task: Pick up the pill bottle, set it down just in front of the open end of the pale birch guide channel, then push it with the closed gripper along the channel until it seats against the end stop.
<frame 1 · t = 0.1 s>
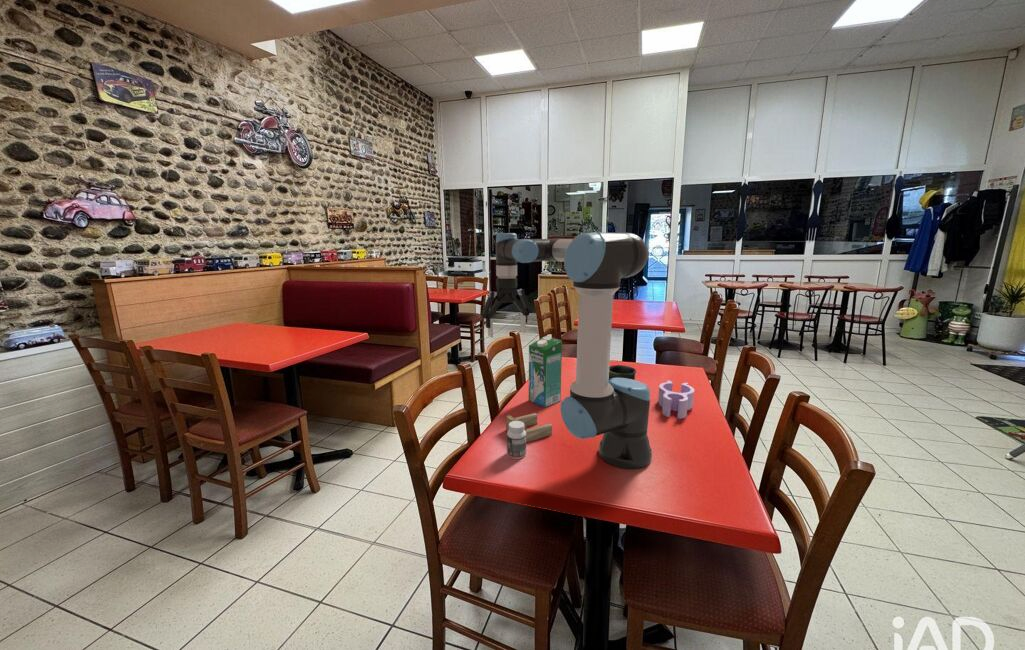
hand: (507, 334, 150), 28 cm above the table, fingers open, 13 cm apart
milk carton: (544, 401, 159), on the table
guide channel: (530, 431, 135), on the table
mug: (615, 397, 163), on the table
clip: (674, 407, 153), on the table
pill bottle: (516, 455, 121), on the table
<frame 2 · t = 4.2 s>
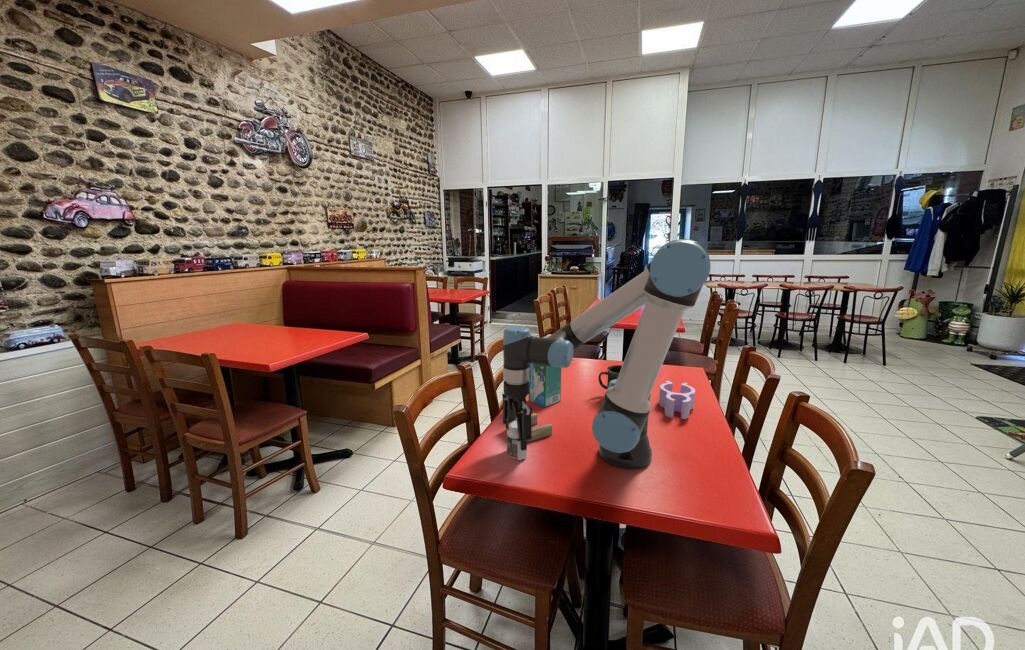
hand: (516, 453, 121), 0 cm above the table, fingers closed on pill bottle, 6 cm apart
pill bottle: (516, 455, 121), on the table, touching gripper
when the fingers open (2 cm above the table, at t = 9.3 s): pill bottle drops 2 cm, on the table.
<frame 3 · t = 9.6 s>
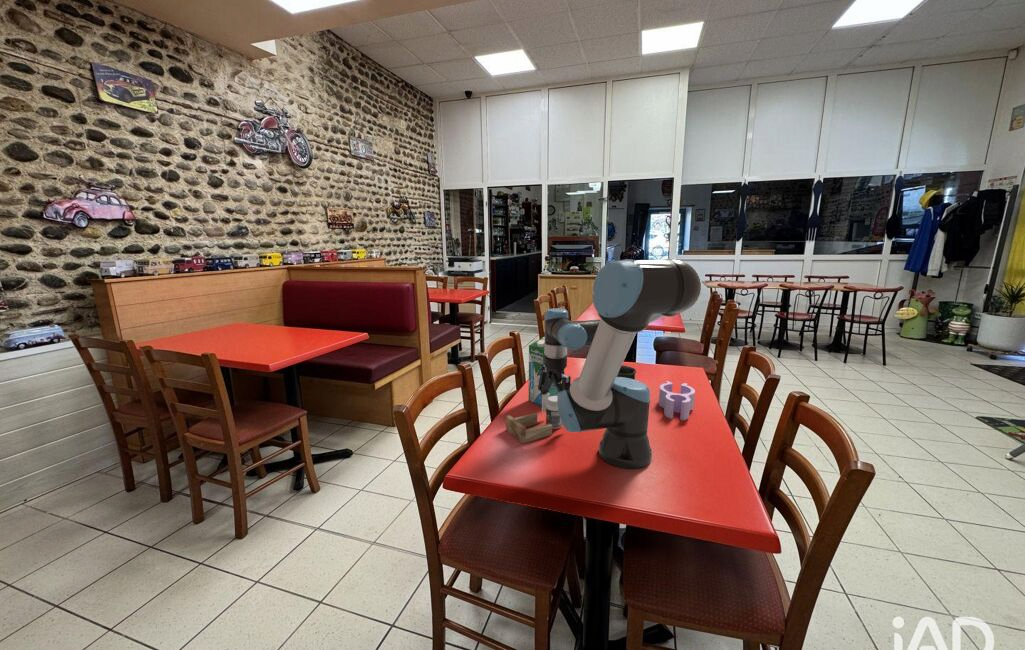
hand: (554, 417, 138), 3 cm above the table, fingers open, 10 cm apart
pill bottle: (554, 426, 139), on the table
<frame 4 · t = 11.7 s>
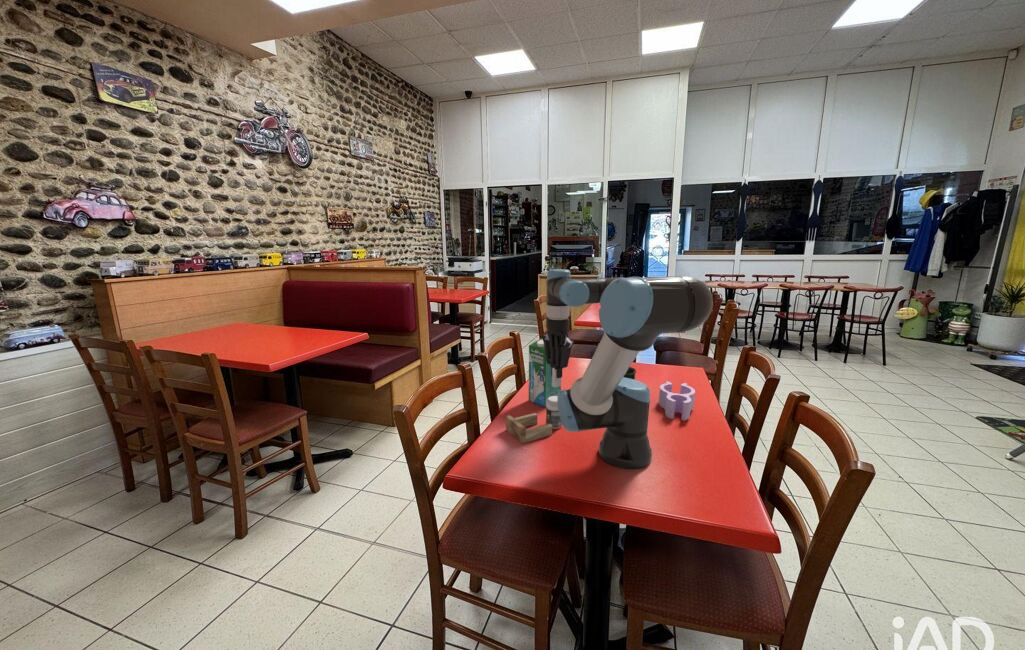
hand: (556, 385, 136), 14 cm above the table, fingers closed
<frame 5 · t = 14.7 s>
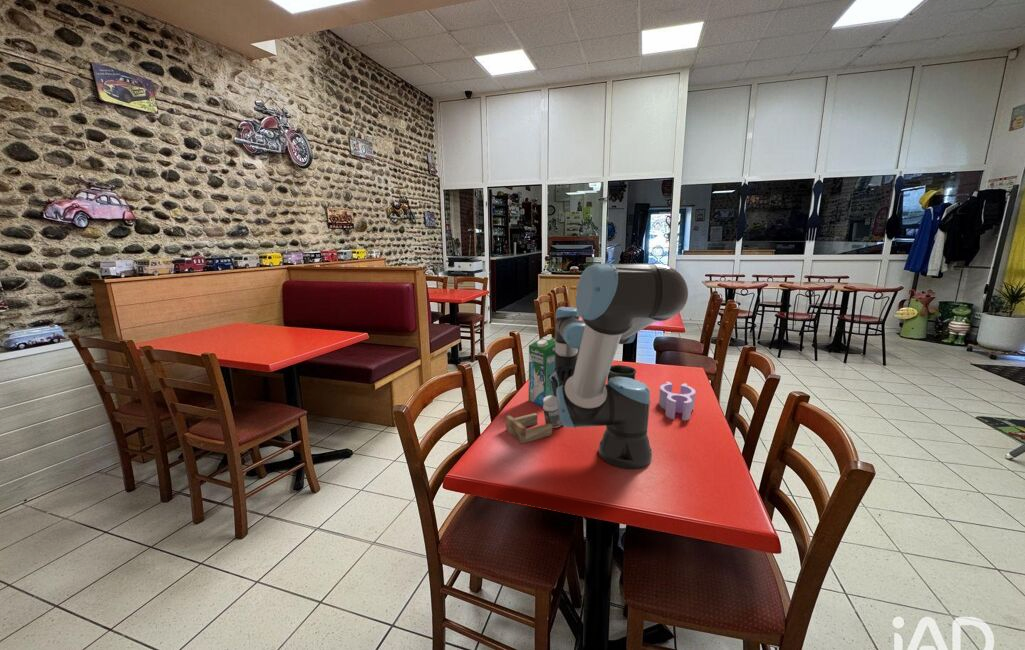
hand: (564, 417, 141), 2 cm above the table, fingers closed
pill bottle: (554, 424, 139), on the table, touching gripper
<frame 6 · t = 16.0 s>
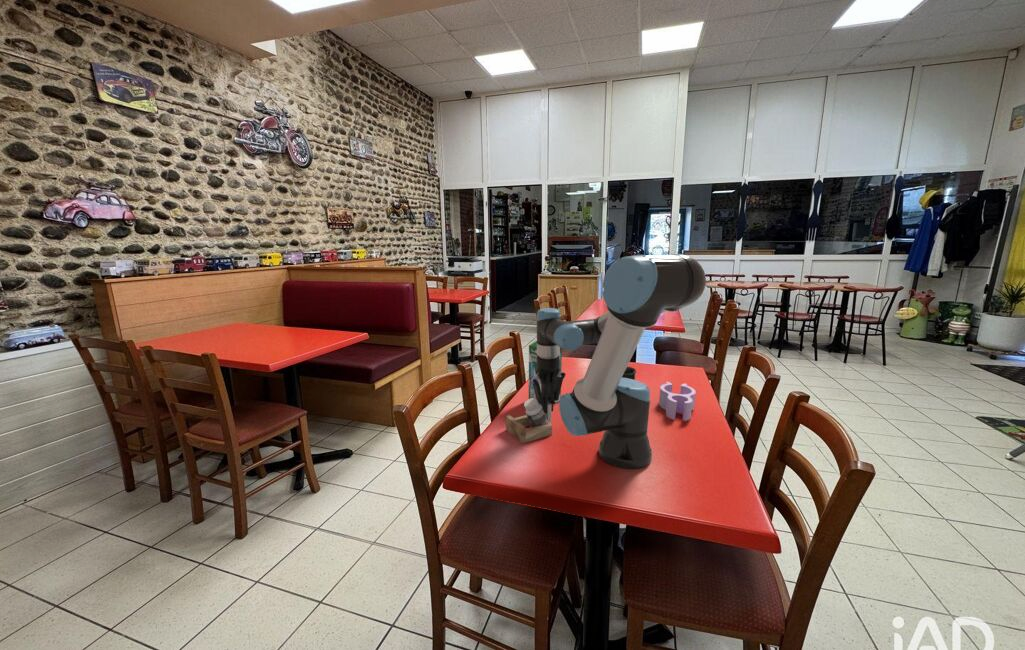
hand: (547, 420, 138), 2 cm above the table, fingers closed
pill bottle: (540, 426, 136), point 1 cm above the table, touching gripper
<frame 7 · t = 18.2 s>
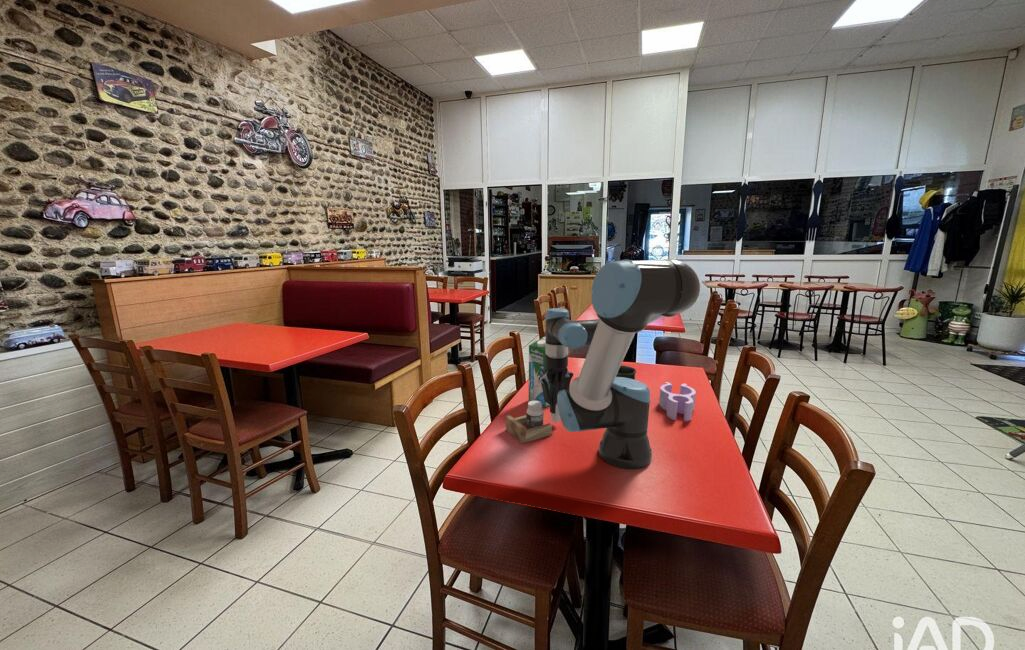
hand: (555, 420, 139), 2 cm above the table, fingers closed
pill bottle: (534, 431, 135), resting in guide channel
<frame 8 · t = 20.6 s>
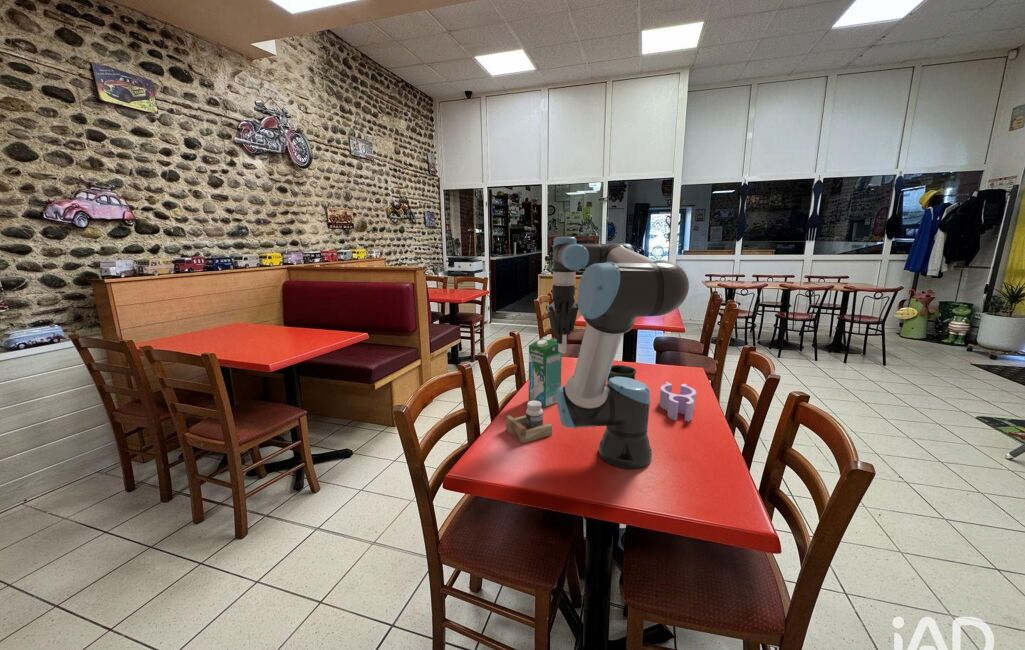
hand: (562, 352, 139), 24 cm above the table, fingers closed
at the end: pill bottle 2.2 cm off-centre on the guide channel, point 0.0 cm above the guide channel's base; pill bottle tilted 1°; pill bottle moved 16.0 cm from its start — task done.
